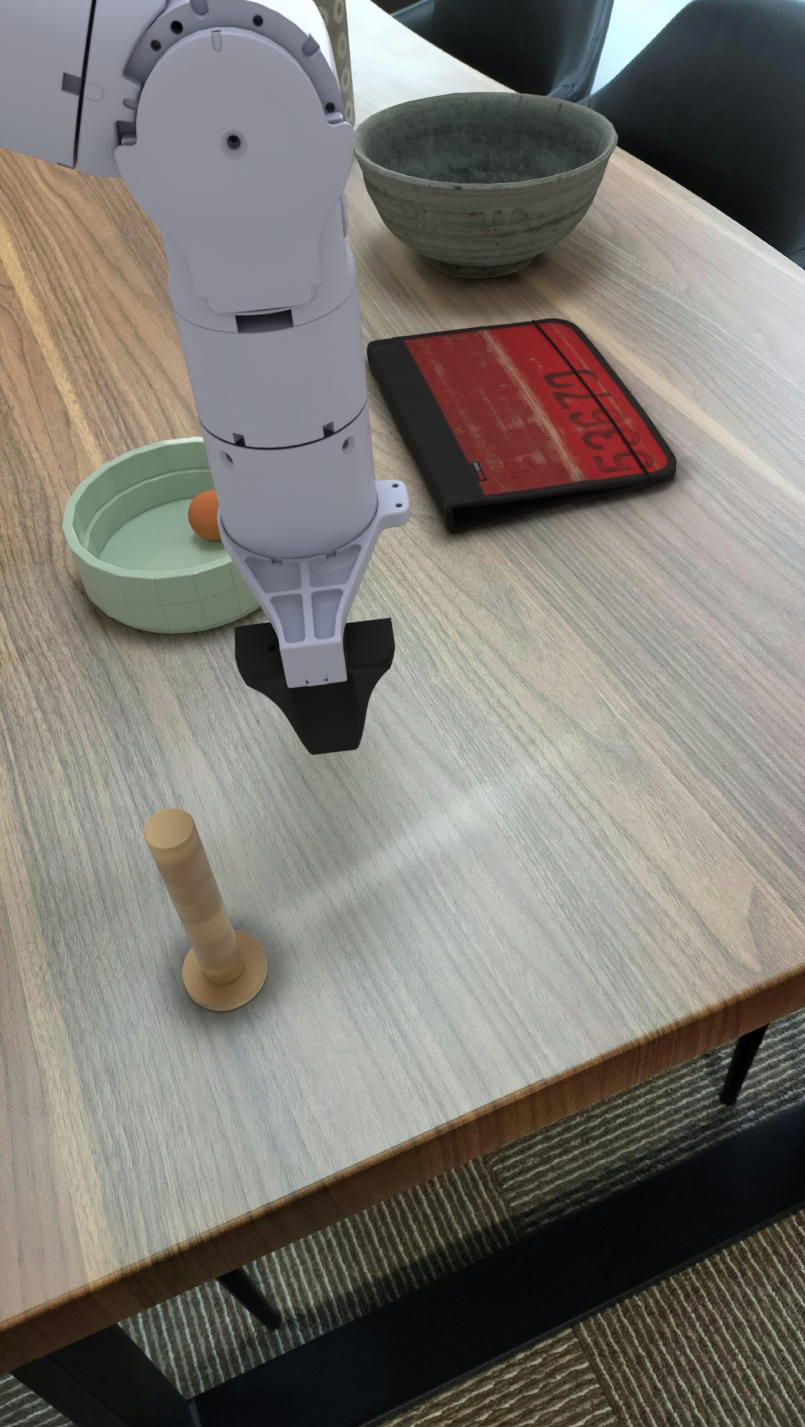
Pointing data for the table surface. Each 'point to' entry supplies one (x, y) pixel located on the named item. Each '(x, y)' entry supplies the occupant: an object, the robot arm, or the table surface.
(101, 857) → the table surface
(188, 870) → the stick
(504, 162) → the bowl
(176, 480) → the mixing bowl
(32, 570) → the table surface
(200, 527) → the ball
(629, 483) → the notebook
